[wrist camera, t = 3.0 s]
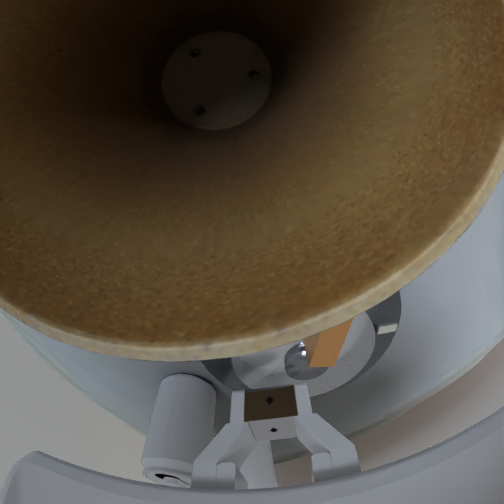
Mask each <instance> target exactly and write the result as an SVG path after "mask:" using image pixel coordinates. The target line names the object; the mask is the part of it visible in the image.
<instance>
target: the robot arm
mask: <svg viewBox="0 0 504 504" xmlns="http://www.w3.org/2000/svg"><path fill="white" fill-rule="evenodd" d="M295 437H297V438H298V439H299V441H300V442H301V443H302V444H303V445H304V446H305V447H306V448H307V449H308V450H309V451H310V452H311V453H312V454H313V456H312V457H311V462H312V463H311V464H312V483H306V484H300V485H293V486H283V487H273V488H260V489H248V482H247V481H246V479H245V478H244V476H243V475H242V474H241V472H240V471H239V469H240V468H241V466H242V465H243V463H244V462H245V460H246V459H247V457H248V456H249V454H250V453H251V451H252V449H253V448H254V446H255V445H256V442H261V441H269V440H277V439H287V438H295ZM0 504H504V406H503V407H502V408H500V409H499V410H497V411H496V412H494V413H493V414H491V415H490V416H488V417H486V418H485V419H483V420H481V421H480V422H478V423H477V424H475V425H473V426H471V427H470V428H468V429H466V430H464V431H462V432H460V433H459V434H457V435H455V436H453V437H451V438H449V439H447V440H445V441H443V442H441V443H439V444H437V445H434V446H432V447H430V448H427V449H425V450H423V451H420V452H418V453H415V454H413V455H410V456H408V457H406V458H403V459H400V460H397V461H394V462H391V463H389V464H385V465H382V466H379V467H377V468H373V469H369V470H366V471H363V472H361V469H360V465H359V461H358V457H357V453H356V449H355V446H354V444H353V443H352V442H350V441H349V440H348V439H347V438H346V437H344V436H343V435H342V434H341V433H340V432H338V431H337V430H336V429H335V428H334V427H332V426H331V425H330V424H329V423H328V422H326V421H325V420H324V419H323V418H322V417H321V416H319V415H318V414H317V413H312V407H311V402H310V397H309V392H308V386H307V383H306V381H305V382H299V383H294V385H293V383H292V384H286V385H279V386H273V387H269V388H259V389H248V390H236V391H233V392H232V397H231V414H230V423H226V425H225V426H224V427H223V428H222V429H221V431H220V432H219V433H218V434H217V435H216V436H215V438H214V439H213V440H212V441H211V442H210V443H209V445H208V446H207V447H206V448H205V449H204V450H203V451H202V453H201V454H200V455H199V456H198V457H197V458H196V459H195V460H194V465H193V472H192V480H191V488H185V487H175V486H166V485H158V484H152V483H146V482H140V481H135V480H130V479H125V478H121V477H116V476H112V475H108V474H104V473H101V472H96V471H93V470H90V469H87V468H83V467H80V466H77V465H74V464H71V463H69V462H65V461H63V460H60V459H57V458H55V457H52V456H50V455H48V454H45V453H43V452H40V451H33V452H31V453H29V454H28V455H26V456H24V457H23V458H21V459H20V460H18V461H17V462H16V463H15V464H14V465H13V467H12V468H11V470H10V472H9V473H8V476H7V478H6V480H5V482H4V484H3V487H2V489H1V492H0Z"/></svg>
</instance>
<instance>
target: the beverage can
mask: <svg viewBox="0 0 504 504" xmlns="http://www.w3.org/2000/svg"><path fill="white" fill-rule="evenodd" d="M215 406H216V392H215V390H214V388H213V387H212V386H211V385H210V384H209V383H207V382H206V381H204V380H202V379H201V378H199V377H197V376H194V375H190V374H175V375H172V376H168V377H166V378H165V379H163V380H162V382H161V383H160V386H159V390H158V394H157V397H156V401H155V405H154V409H153V413H152V417H151V421H150V425H149V429H148V433H147V437H146V441H145V446H144V450H143V454H142V458H141V463H142V465H143V468H144V470H143V475H144V476H145V477H146V478H148V479H150V480H152V481H154V482H156V483H159V484H162V485H166V486H175V487H185V488H191V480H192V472H193V465H194V460H195V459H196V458H197V457H198V456H199V455H200V454H201V453H202V451H203V450H204V449H205V448H206V447H207V446H208V445H209V443H210V442H211V441H212V440H213V430H214V418H215Z"/></svg>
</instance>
